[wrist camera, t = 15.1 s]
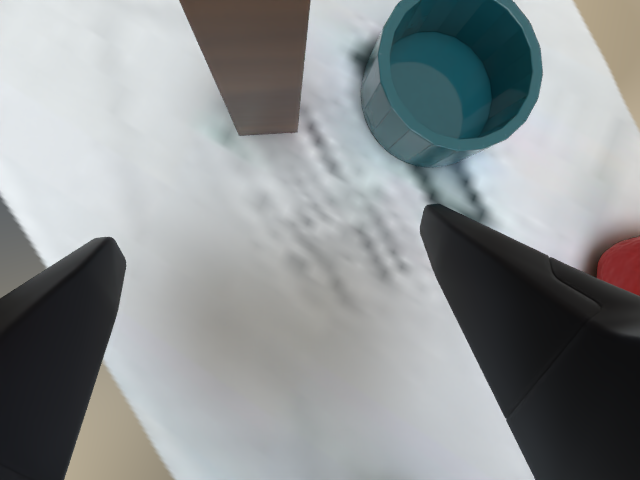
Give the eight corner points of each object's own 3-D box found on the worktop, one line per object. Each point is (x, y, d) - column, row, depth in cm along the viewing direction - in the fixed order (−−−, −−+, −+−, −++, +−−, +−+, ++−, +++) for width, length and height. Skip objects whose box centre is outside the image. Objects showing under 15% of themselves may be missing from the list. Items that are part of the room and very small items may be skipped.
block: (297, 132, 22) (312, -16, 10) (239, 135, 22) (172, -15, 9) (292, 75, 22) (300, -152, 9) (233, 77, 22) (158, -157, 9)
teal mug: (480, 181, 24) (525, 167, 19) (347, 148, 23) (362, 126, 18) (514, 12, 24) (565, -40, 20) (384, -28, 23) (408, -92, 19)
